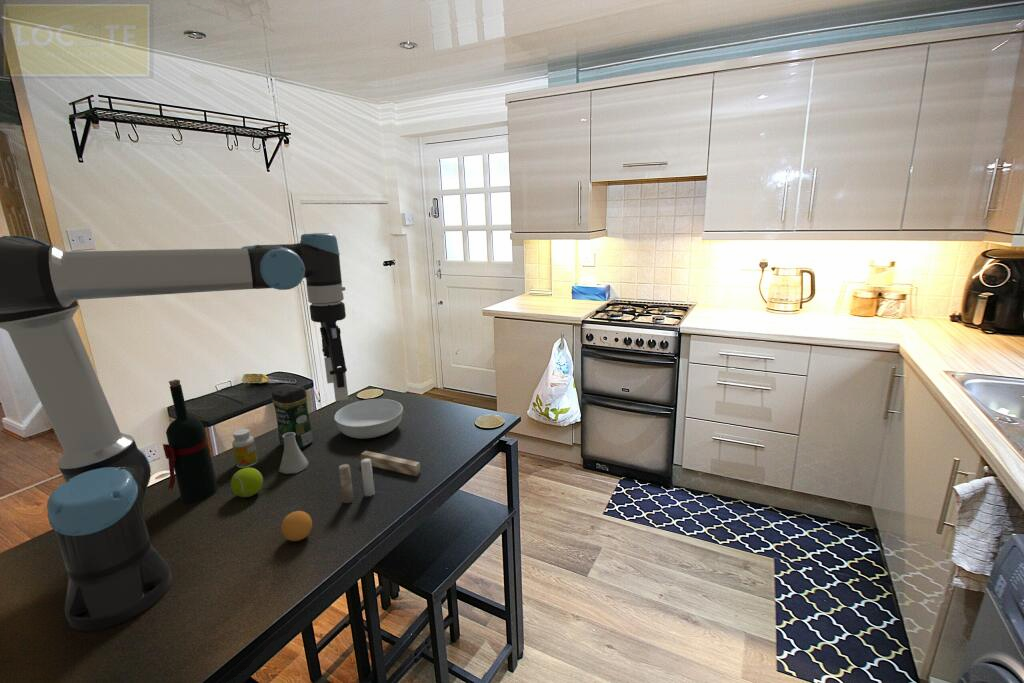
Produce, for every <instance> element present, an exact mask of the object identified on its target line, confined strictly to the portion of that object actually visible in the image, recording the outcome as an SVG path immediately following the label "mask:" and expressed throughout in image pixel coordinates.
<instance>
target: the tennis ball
mask: <svg viewBox="0 0 1024 683" xmlns="http://www.w3.org/2000/svg"><path fill="white" fill-rule="evenodd" d="M263 484H264V477H263V475H262V473H261V472H260V471H259V470H258V469H257V468H254V467H246V468H240V469H238V470H237V471H236V472H235V473H234V474H233V475H232V477H231V480H230V490H231V491H232V492H233V493H234V495H236V496H238V497H241V498H249V497H253V496H254V495H256V494H257V493H258V492H259V491H260V490H261V488H263V487H262V486H263Z"/></svg>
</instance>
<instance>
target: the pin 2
mask: <svg viewBox="0 0 1024 683" xmlns="http://www.w3.org/2000/svg"><path fill="white" fill-rule="evenodd" d="M360 466H361V467H360V468H361V474H362V475H361V476H362V484H363V494H364V496H365V497H367V496H370V497H373V496H374V495H375V494H376V492H375V483H374V476H373V475H374V474H373V466H372V465H371V459H363V460H362V459H361V461H360ZM372 495H373V496H372Z"/></svg>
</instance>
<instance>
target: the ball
mask: <svg viewBox="0 0 1024 683" xmlns="http://www.w3.org/2000/svg"><path fill="white" fill-rule="evenodd" d="M312 527H313V520H312V517H311V516H310V514H309V513H307V512H305V511H303V510H296V511H292V512H290V513H288V514H287V515H286V516H285V517H284V519H283V520H282V522H281V528H280V530H281V534H282V536H283V537H284V538H285V539H286V540H288V541H290V542H298V541H301V540H304V539H305V538H307V537H308V536H309V534H310V533H311V530H312V529H313V528H312Z"/></svg>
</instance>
